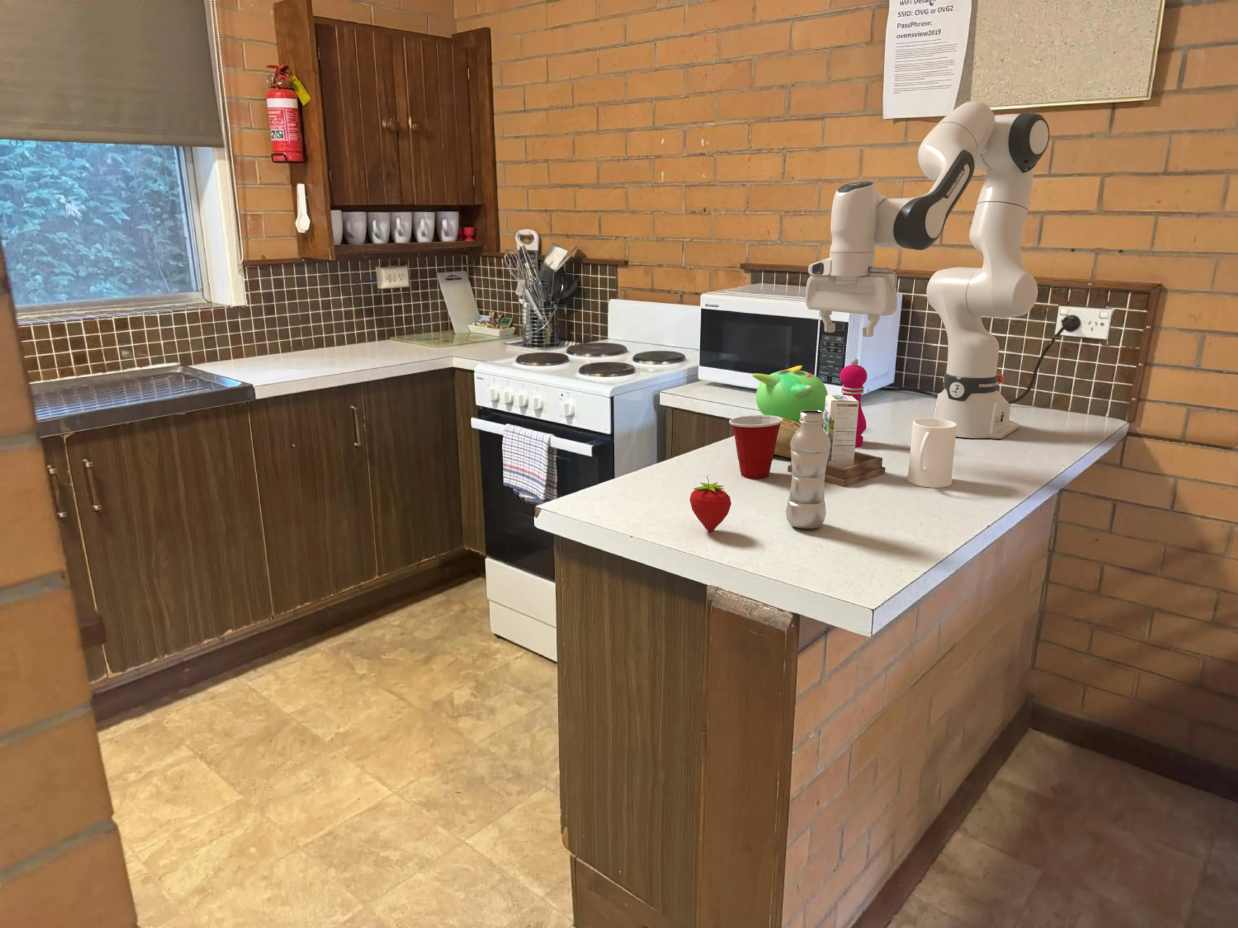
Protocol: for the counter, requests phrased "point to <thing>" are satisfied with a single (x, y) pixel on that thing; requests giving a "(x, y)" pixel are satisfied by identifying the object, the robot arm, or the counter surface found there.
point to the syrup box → (841, 428)
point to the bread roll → (785, 437)
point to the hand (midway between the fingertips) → (848, 334)
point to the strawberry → (710, 504)
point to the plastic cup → (755, 443)
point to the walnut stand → (853, 470)
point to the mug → (932, 453)
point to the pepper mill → (855, 392)
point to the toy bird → (790, 393)
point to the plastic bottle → (808, 472)
